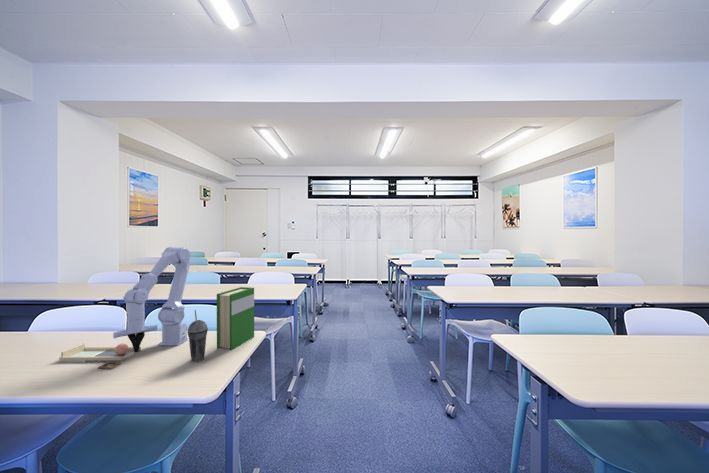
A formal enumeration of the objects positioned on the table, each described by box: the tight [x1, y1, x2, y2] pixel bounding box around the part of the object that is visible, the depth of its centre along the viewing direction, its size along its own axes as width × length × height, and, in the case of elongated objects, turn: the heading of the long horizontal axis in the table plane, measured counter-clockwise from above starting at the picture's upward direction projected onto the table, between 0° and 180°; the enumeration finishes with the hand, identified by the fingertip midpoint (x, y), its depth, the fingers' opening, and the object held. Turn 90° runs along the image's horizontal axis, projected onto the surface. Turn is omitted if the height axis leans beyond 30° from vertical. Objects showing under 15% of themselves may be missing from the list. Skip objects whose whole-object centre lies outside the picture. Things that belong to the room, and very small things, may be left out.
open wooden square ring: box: [97, 361, 123, 370], centre depth 113 cm, size 5×5×1 cm
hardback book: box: [216, 286, 255, 351], centre depth 138 cm, size 18×7×24 cm, turn 167°
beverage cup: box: [187, 309, 209, 363], centre depth 119 cm, size 7×7×20 cm
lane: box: [58, 343, 142, 363], centre depth 122 cm, size 24×11×4 cm, turn 90°
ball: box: [115, 343, 130, 355], centre depth 122 cm, size 4×4×4 cm
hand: (136, 351), depth 122 cm, fingers closed
